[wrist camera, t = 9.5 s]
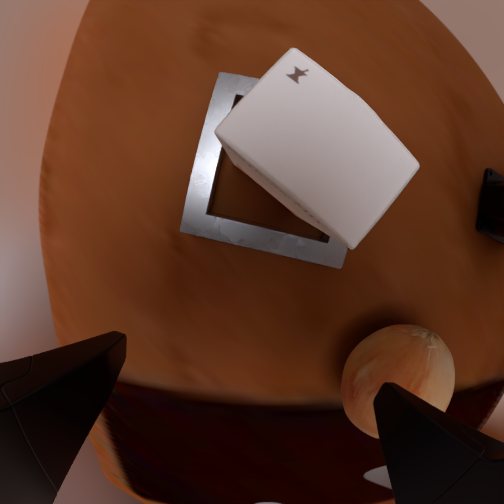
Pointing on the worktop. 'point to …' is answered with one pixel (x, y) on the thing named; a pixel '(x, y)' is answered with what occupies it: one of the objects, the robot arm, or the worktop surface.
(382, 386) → the robot arm
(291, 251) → the silver metal square frame
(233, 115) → the skincare box
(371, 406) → the onion
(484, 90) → the worktop surface
